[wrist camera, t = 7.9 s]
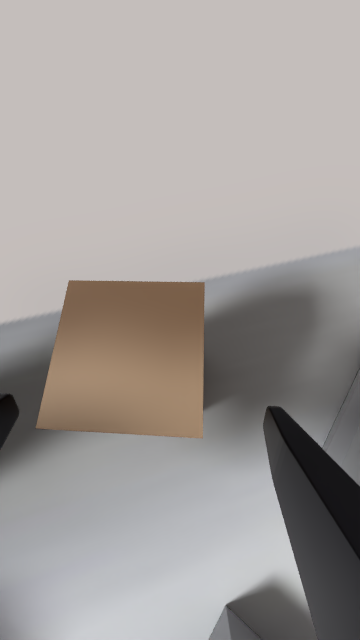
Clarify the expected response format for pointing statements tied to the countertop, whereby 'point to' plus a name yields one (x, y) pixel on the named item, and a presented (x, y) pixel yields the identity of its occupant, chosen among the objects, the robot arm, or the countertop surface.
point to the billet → (128, 360)
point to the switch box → (232, 628)
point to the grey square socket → (347, 434)
